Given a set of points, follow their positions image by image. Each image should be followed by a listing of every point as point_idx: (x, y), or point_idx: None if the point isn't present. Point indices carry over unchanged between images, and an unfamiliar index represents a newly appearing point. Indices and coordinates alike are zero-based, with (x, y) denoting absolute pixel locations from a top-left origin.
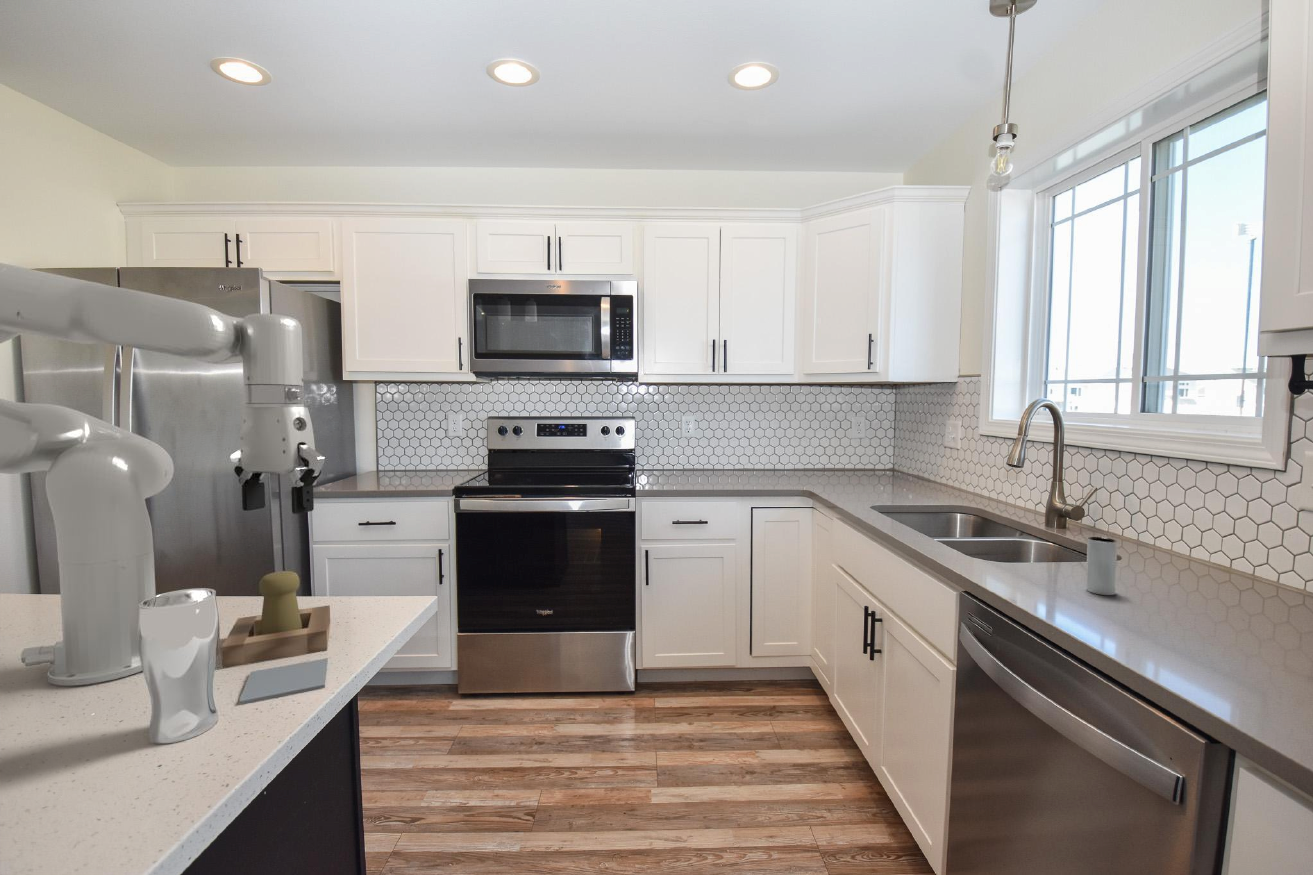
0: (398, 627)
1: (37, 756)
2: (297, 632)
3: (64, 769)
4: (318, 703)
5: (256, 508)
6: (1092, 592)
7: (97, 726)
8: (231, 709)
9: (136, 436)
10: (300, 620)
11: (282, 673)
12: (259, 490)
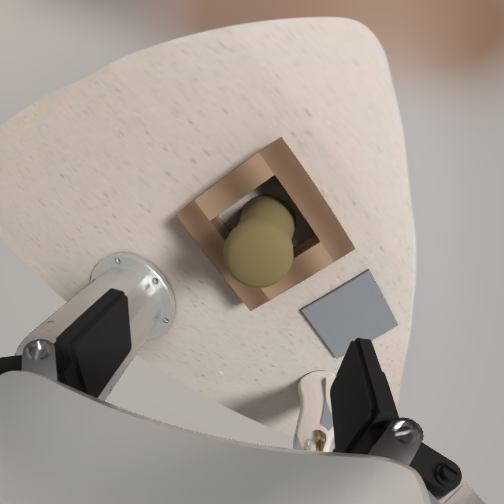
0: (401, 151)
1: (247, 409)
2: (316, 259)
3: (280, 417)
4: (403, 345)
5: (129, 322)
6: None
7: (246, 385)
8: (335, 362)
9: None
10: (289, 219)
11: (341, 310)
12: (95, 349)
